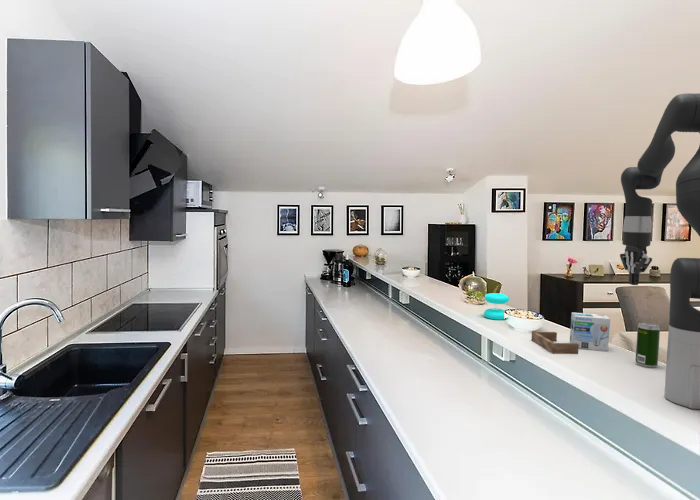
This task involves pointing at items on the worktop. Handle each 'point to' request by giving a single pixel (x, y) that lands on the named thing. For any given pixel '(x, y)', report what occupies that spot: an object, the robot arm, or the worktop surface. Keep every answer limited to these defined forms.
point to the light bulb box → (590, 331)
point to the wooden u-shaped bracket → (546, 342)
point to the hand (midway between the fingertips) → (633, 284)
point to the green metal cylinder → (647, 345)
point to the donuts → (495, 299)
